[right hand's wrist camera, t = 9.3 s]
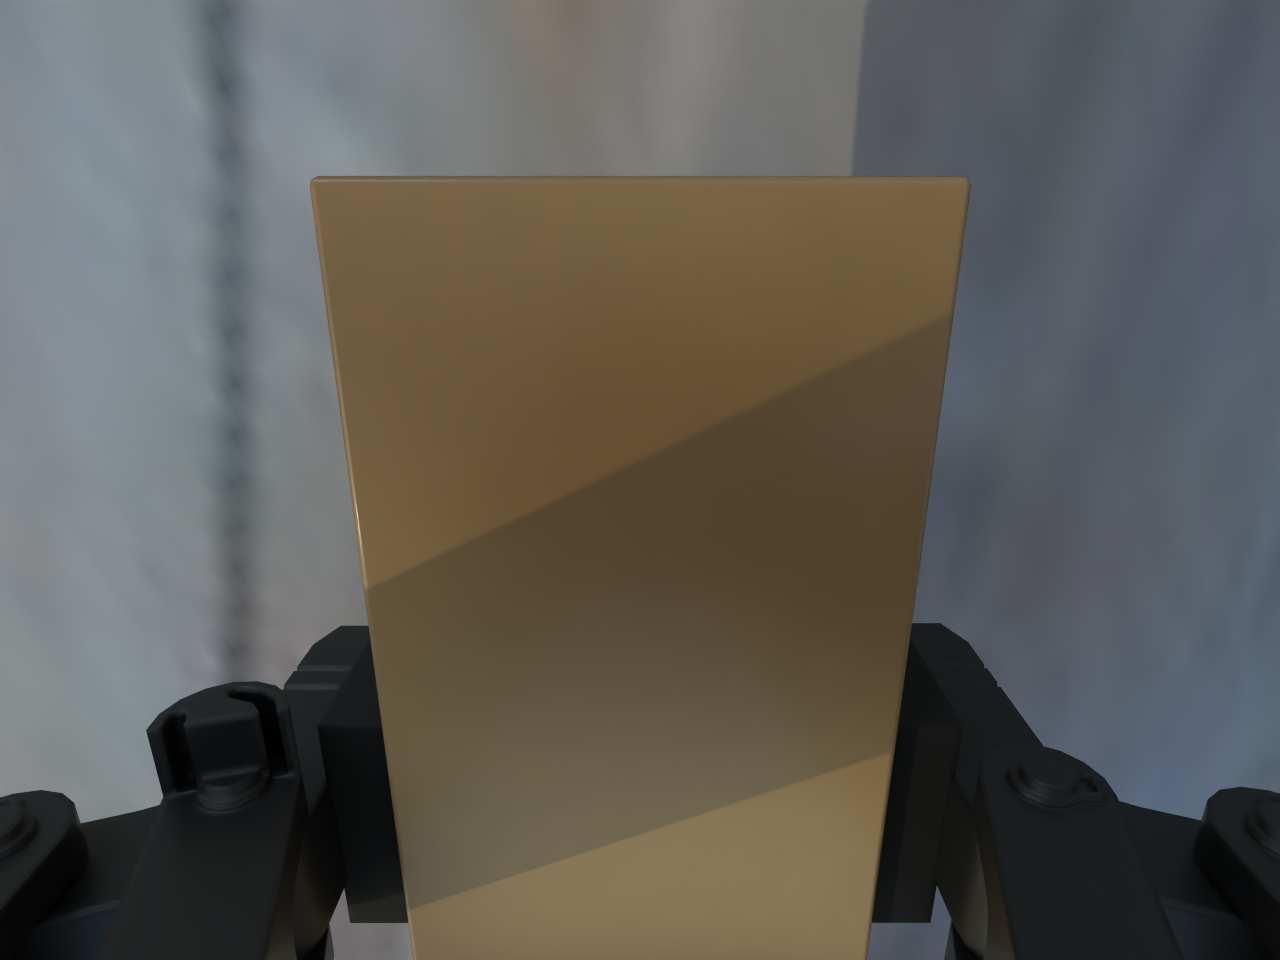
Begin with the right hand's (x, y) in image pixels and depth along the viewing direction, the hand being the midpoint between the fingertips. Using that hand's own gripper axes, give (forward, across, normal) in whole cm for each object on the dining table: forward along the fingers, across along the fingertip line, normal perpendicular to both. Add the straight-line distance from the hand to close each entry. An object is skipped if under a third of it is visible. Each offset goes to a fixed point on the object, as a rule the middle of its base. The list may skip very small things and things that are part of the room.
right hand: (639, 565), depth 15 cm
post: (+1, 0, -29) cm, 29 cm away
